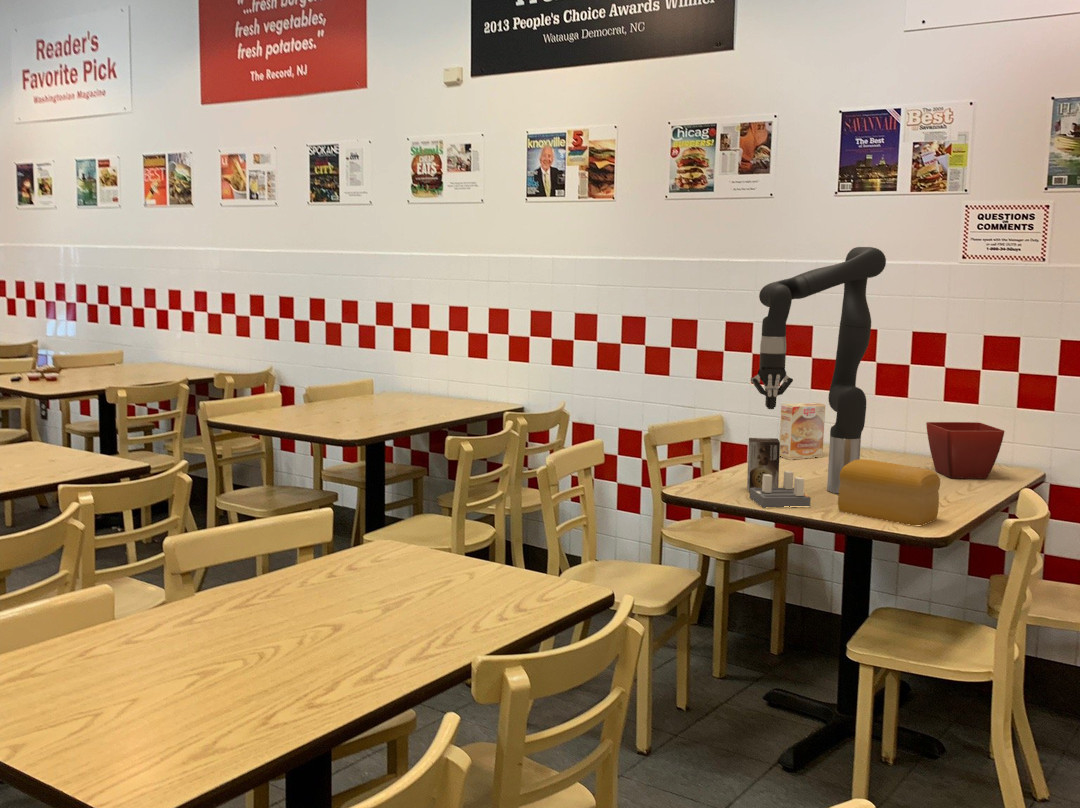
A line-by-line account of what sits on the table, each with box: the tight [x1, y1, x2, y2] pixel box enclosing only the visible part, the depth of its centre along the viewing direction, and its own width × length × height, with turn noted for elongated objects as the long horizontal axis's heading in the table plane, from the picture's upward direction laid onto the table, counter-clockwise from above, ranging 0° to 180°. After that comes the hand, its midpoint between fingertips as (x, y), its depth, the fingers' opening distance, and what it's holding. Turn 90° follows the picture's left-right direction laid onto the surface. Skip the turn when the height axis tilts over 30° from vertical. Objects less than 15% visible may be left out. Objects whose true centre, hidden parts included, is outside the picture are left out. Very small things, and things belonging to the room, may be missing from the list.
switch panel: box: [749, 487, 812, 509], centre depth 312 cm, size 14×13×3 cm
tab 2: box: [782, 470, 794, 489], centre depth 316 cm, size 2×3×5 cm
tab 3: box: [793, 476, 805, 496], centre depth 307 cm, size 2×3×5 cm
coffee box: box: [746, 437, 780, 492], centre depth 327 cm, size 9×6×16 cm
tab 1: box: [762, 474, 772, 493], centre depth 311 cm, size 2×3×5 cm
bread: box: [837, 458, 941, 526], centre depth 298 cm, size 24×13×15 cm, turn 46°
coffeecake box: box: [778, 402, 826, 461], centre depth 383 cm, size 15×7×20 cm, turn 115°
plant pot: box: [926, 421, 1006, 480], centre depth 356 cm, size 19×19×17 cm
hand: (770, 408), depth 317 cm, fingers closed
